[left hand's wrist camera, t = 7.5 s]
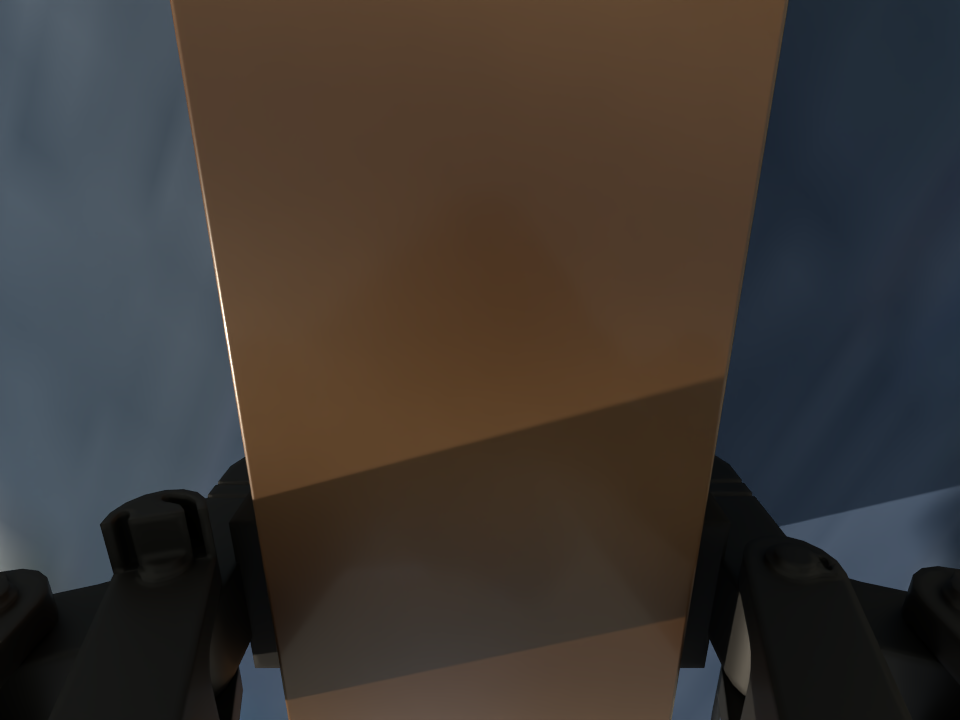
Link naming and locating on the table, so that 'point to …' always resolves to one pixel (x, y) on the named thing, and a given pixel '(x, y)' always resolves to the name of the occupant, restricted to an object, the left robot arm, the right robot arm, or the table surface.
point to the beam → (479, 331)
